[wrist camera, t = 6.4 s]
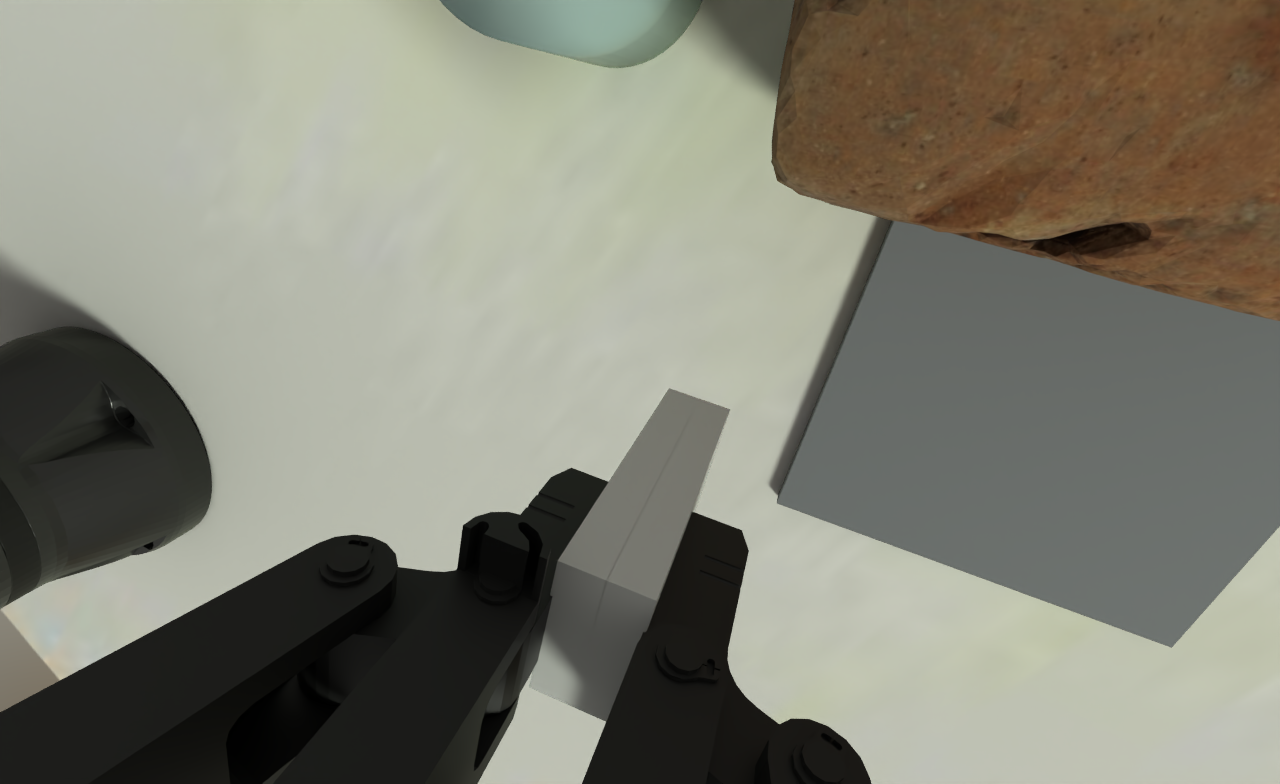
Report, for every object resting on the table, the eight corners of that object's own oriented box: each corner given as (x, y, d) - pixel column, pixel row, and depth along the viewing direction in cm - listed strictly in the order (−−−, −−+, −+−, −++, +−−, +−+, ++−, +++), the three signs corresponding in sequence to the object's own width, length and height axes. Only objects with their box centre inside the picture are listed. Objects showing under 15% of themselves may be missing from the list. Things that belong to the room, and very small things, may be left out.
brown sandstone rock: (840, -110, 19) (1663, -19, 15) (780, 147, 23) (1412, 266, 19) (819, -198, 10) (2737, -34, 6) (729, 242, 14) (1857, 488, 11)
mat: (777, 496, 29) (776, 503, 28) (926, 136, 22) (929, 137, 21) (1164, 637, 26) (1171, 647, 26) (1476, 280, 19) (1494, 285, 19)
